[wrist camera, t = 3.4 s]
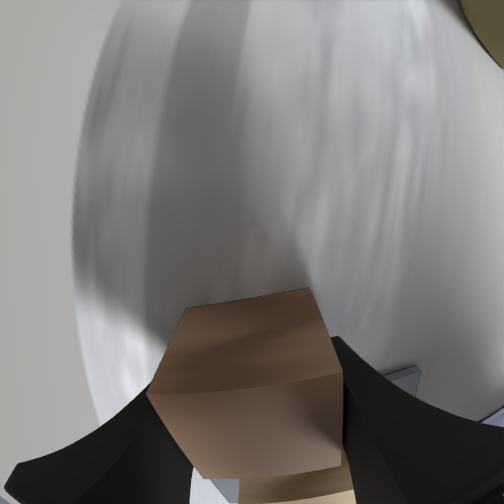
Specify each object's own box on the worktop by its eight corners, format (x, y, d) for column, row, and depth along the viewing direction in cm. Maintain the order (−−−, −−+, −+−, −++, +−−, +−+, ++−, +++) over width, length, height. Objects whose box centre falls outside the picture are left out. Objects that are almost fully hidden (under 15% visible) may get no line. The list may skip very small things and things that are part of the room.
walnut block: (310, 287, 10) (343, 371, 5) (320, 380, 11) (340, 465, 7) (186, 308, 10) (146, 393, 6) (217, 394, 11) (203, 478, 7)
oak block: (358, 429, 11) (375, 483, 8) (352, 475, 13) (362, 516, 10) (241, 448, 12) (237, 504, 8) (261, 489, 13) (261, 531, 10)
